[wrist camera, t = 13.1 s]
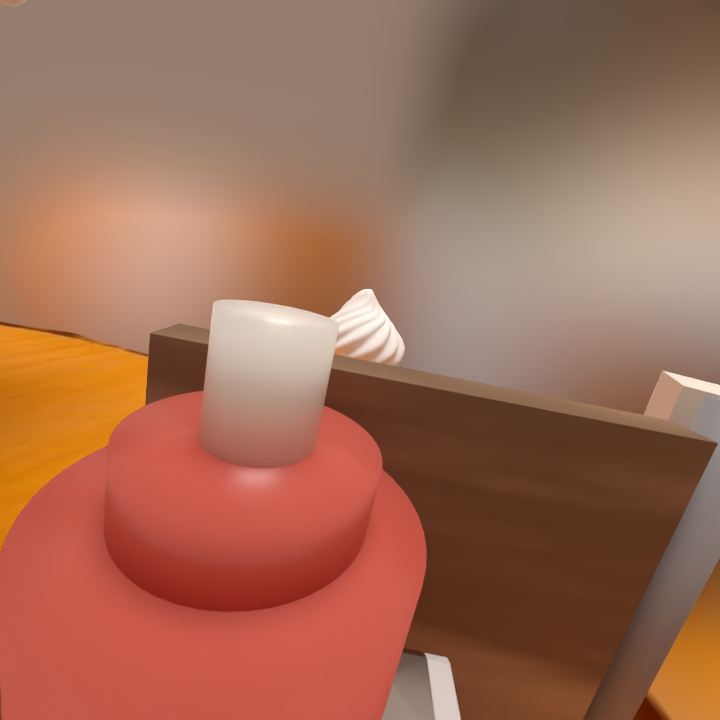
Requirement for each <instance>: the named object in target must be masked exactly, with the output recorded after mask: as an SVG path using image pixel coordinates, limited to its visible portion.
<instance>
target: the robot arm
mask: <svg viewBox="0 0 720 720" xmlns="http://www.w3.org/2000/svg"><path fill="white" fill-rule="evenodd" d="M26 1H28V0H0V3H3V4H7V5H10V6H17V5H20V4H22V3H24V2H26ZM0 720H2V714H1V689H0ZM382 720H461V716H460V711H459V706H458V701H457V695H456V690H455V685H454V680H453V675H452V670H451V664H450V662H449V660H448V658H447V657H443V656H438V655H433V654H428V653H423V652H422V651H417V650H412V649H406V648H403V651H402V654H401V658H400V661H399V664H398V668H397V671H396V674H395V677H394V681H393V684H392V687H391V690H390V694H389V697H388V700H387V703H386V707H385V710H384V713H383V716H382Z"/></svg>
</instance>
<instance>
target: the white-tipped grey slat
mask: <svg viewBox="0 0 720 720" xmlns="http://www.w3.org/2000/svg"><path fill="white" fill-rule="evenodd" d="M644 415H646V416H651V417H656V418H661V419H666V420H671V421H673V422H675V423H677V424H679V425H681V426H683V427H686V428H688V429H690V430H692V431H694V432H696V433H698V434H700V435H702V436H704V437H706V438H708V439H710V440H713V441H715V442H717V443H718V445H717V447H716V449H715V451H714V453H713V455H712V457H711V459H710V461H709V463H708V465H707V467H706V469H705V471H704V473H703V475H702V477H701V479H700V481H699V483H698V485H697V487H696V489H695V491H694V494H693V496H692V498H691V500H690V502H689V504H688V506H687V508H686V510H685V512H684V514H683V516H682V518H681V520H680V522H679V524H678V526H677V528H676V530H675V532H674V534H673V536H672V538H671V540H670V543H669V545H668V547H667V549H666V551H665V553H664V555H663V557H662V559H661V561H660V563H659V565H658V567H657V569H656V571H655V573H654V575H653V577H652V579H651V581H650V583H649V585H648V587H647V589H646V592H645V594H644V596H643V598H642V600H641V602H640V604H639V606H638V608H637V610H636V612H635V614H634V616H633V618H632V620H631V622H630V624H629V626H628V628H627V630H626V632H625V634H624V636H623V638H622V641H621V643H620V645H619V647H618V649H617V651H616V653H615V655H614V657H613V659H612V661H611V663H610V665H609V667H608V669H607V671H606V673H605V675H604V677H603V679H602V681H601V683H600V685H599V687H598V690H597V692H596V694H595V696H594V698H593V700H592V702H591V704H590V706H589V708H588V710H587V712H586V714H585V716H584V718H583V720H633V718H634V716H635V714H636V713H637V711H638V709H639V707H640V705H641V703H642V701H643V699H644V698H645V696H646V694H647V692H648V690H649V688H650V686H651V685H652V683H653V681H654V679H655V677H656V675H657V673H658V671H659V670H660V668H661V666H662V664H663V662H664V660H665V658H666V656H667V655H668V653H669V651H670V649H671V647H672V645H673V643H674V641H675V640H676V638H677V636H678V634H679V632H680V630H681V629H682V627H683V625H684V623H685V621H686V619H687V617H688V615H689V614H690V612H691V610H692V608H693V606H694V604H695V602H696V600H697V599H698V597H699V595H700V593H701V591H702V589H703V587H704V585H705V583H706V582H707V580H708V578H709V576H710V574H711V572H712V571H713V569H714V567H715V565H716V563H717V561H718V559H719V558H720V385H717V384H712V383H708V382H705V381H701V380H697V379H693V378H689V377H685V376H681V375H677V374H673V373H669V372H666V371H662V373H661V375H660V378H659V380H658V382H657V385H656V387H655V389H654V392H653V394H652V396H651V399H650V401H649V403H648V406H647V408H646V411H645V413H644Z"/></svg>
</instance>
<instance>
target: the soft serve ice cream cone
mask: <svg viewBox="0 0 720 720" xmlns="http://www.w3.org/2000/svg"><path fill="white" fill-rule="evenodd" d="M330 319H332V320H334V321H336V322H337V323H339V331H338V336H337V341H336V346H335V351H334V354H335V355H341V356H346V357H351V358H356V359H361V360H366V361H371V362H376V363H381V364H386V365H391V366H397V365H398V364H399V362H400V360H401V359H402V357H403V355H404V350H405V347H404V343H403V340H402V339H401V337H400V335H399V334H398V332H397V331H396V329H395V327H394V325H393V324H392V322H391V321H390V320H389V318H388V316H387V315H386V314H385V313H384V311H383V310H382V308H381V307H380V305H379V303H378V301H377V299H376V297H375V295H374V293H373V291H372V289H364V290H362V291H360V292H358V293H356V295H354V296H353V297H352V299H350V300H349V301H348V302H347V303H345V304H344V306H343V307H342V308H341V310H340V311H339V312H337V313H336V314H334V315H333V316H331V317H330Z"/></svg>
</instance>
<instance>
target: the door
mask: <svg viewBox="0 0 720 720" xmlns="http://www.w3.org/2000/svg"><path fill="white" fill-rule="evenodd" d="M209 336H210V330H208V329H203V328H198V327H193V326H188V325H182V324H177V325H174V326H171V327H168V328H165V329H162V330H159V331H155V332H152V333H150V345H149V359H148V374H147V388H146V403H145V406H146V405H148V404H151V403H153V402H156V401H159V400H162V399H165V398H168V397H172V396H176V395H180V394H185V393H191V392H198V391H203V390H204V381H205V372H206V363H207V354H208V345H209ZM324 406H326V407H329V408H331V409H333V410H335V411H337V412H339V413H341V414H343V415H345V416H347V417H348V418H350V419H352V420H353V421H354V422H356V423H357V424H359V425H360V426H361V427H362V428H364V429H365V430H366V431H367V432H368V433H369V434H370V435H371V436H372V438H373V439H374V441H375V442H376V443H377V445H378V447H379V449H380V452H381V456H382V469H383V470H384V471H385V472H386V473H387V474H388V475H389V476H390V477H392V478H393V479H394V480H395V482H396V483H397V484H398V485H399V486H400V487H401V488H402V490H403V491H404V492H405V494H406V495H407V497H408V498H409V500H410V501H411V502H412V504H413V506H414V508H415V510H416V512H417V514H418V516H419V519H420V522H421V525H422V528H423V531H424V536H425V542H426V549H427V553H426V571H425V576H424V581H423V585H422V589H421V592H420V596H419V599H418V602H417V605H416V609H415V612H414V615H413V619H412V622H411V625H410V628H409V632H408V635H407V638H406V641H405V645H404V648H406V649H412V650H417V651H422V652H423V653H428V654H433V655H438V656H443V657H447V658H448V660H449V662H450V664H451V670H452V675H453V680H454V685H455V690H456V695H457V701H458V706H459V711H460V716H461V720H583V718H584V716H585V714H586V712H587V710H588V708H589V706H590V704H591V702H592V700H593V698H594V696H595V694H596V692H597V690H598V687H599V685H600V683H601V681H602V679H603V677H604V675H605V673H606V671H607V669H608V667H609V665H610V663H611V661H612V659H613V657H614V655H615V653H616V651H617V649H618V647H619V645H620V643H621V641H622V638H623V636H624V634H625V632H626V630H627V628H628V626H629V624H630V622H631V620H632V618H633V616H634V614H635V612H636V610H637V608H638V606H639V604H640V602H641V600H642V598H643V596H644V594H645V592H646V589H647V587H648V585H649V583H650V581H651V579H652V577H653V575H654V573H655V571H656V569H657V567H658V565H659V563H660V561H661V559H662V557H663V555H664V553H665V551H666V549H667V547H668V545H669V543H670V540H671V538H672V536H673V534H674V532H675V530H676V528H677V526H678V524H679V522H680V520H681V518H682V516H683V514H684V512H685V510H686V508H687V506H688V504H689V502H690V500H691V498H692V496H693V494H694V491H695V489H696V487H697V485H698V483H699V481H700V479H701V477H702V475H703V473H704V471H705V469H706V467H707V465H708V463H709V461H710V459H711V457H712V455H713V453H714V451H715V449H716V447H717V445H718V443H717V442H715V441H713V440H710V439H708V438H706V437H704V436H702V435H700V434H698V433H696V432H694V431H692V430H690V429H688V428H686V427H683V426H681V425H679V424H677V423H675V422H673V421H671V420H666V419H661V418H656V417H651V416H646V415H641V414H635V413H630V412H625V411H620V410H615V409H610V408H605V407H600V406H594V405H590V404H585V403H579V402H574V401H569V400H564V399H559V398H554V397H549V396H544V395H539V394H534V393H529V392H524V391H519V390H514V389H508V388H503V387H498V386H493V385H488V384H483V383H478V382H473V381H468V380H463V379H458V378H452V377H447V376H441V375H437V374H432V373H427V372H422V371H417V370H412V369H406V368H402V367H397V366H391V365H386V364H381V363H376V362H371V361H366V360H361V359H356V358H351V357H346V356H341V355H335V354H334V356H333V361H332V366H331V371H330V376H329V381H328V386H327V392H326V397H325V402H324Z"/></svg>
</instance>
